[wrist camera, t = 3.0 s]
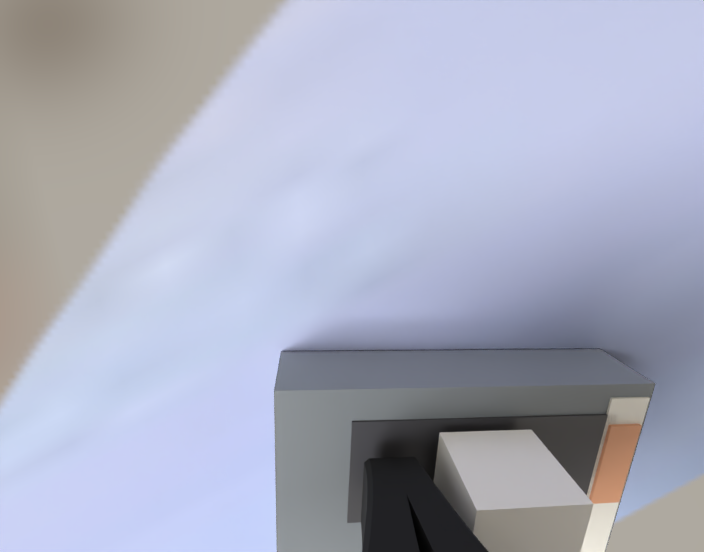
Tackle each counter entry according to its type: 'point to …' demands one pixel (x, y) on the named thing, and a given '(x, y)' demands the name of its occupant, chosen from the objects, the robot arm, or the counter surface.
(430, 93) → the counter surface
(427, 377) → the switch panel
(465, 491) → the switch tab
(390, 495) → the robot arm
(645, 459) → the counter surface
